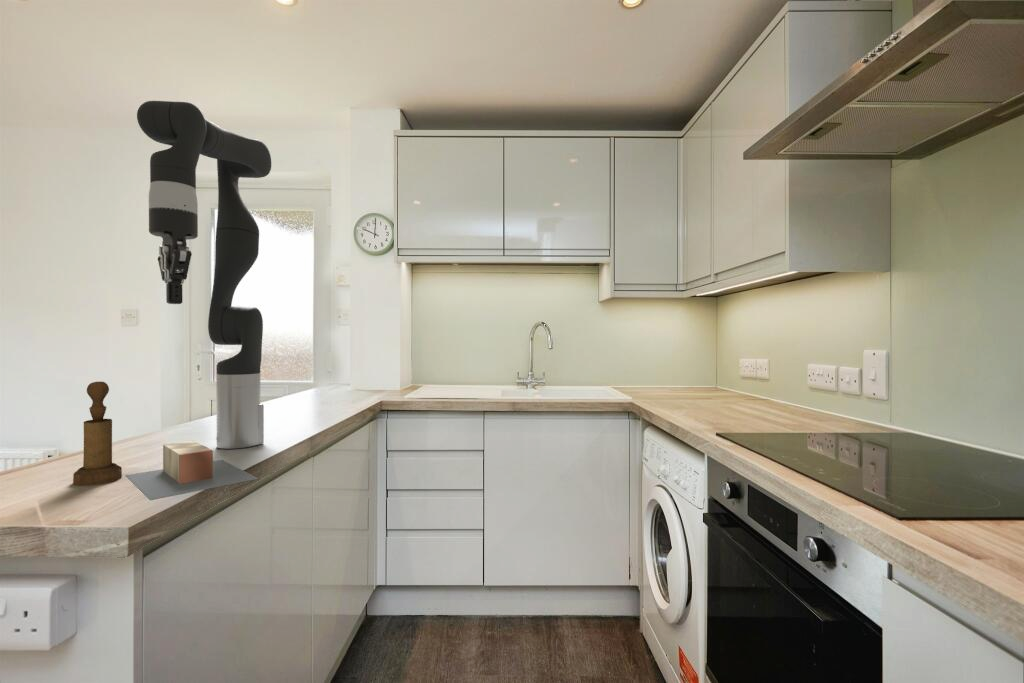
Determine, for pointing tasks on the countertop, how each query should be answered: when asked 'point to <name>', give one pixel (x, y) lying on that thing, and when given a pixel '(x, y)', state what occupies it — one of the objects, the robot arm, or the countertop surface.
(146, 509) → the countertop surface
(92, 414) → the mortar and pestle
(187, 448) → the maple block
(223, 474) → the slate mat
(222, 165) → the robot arm
